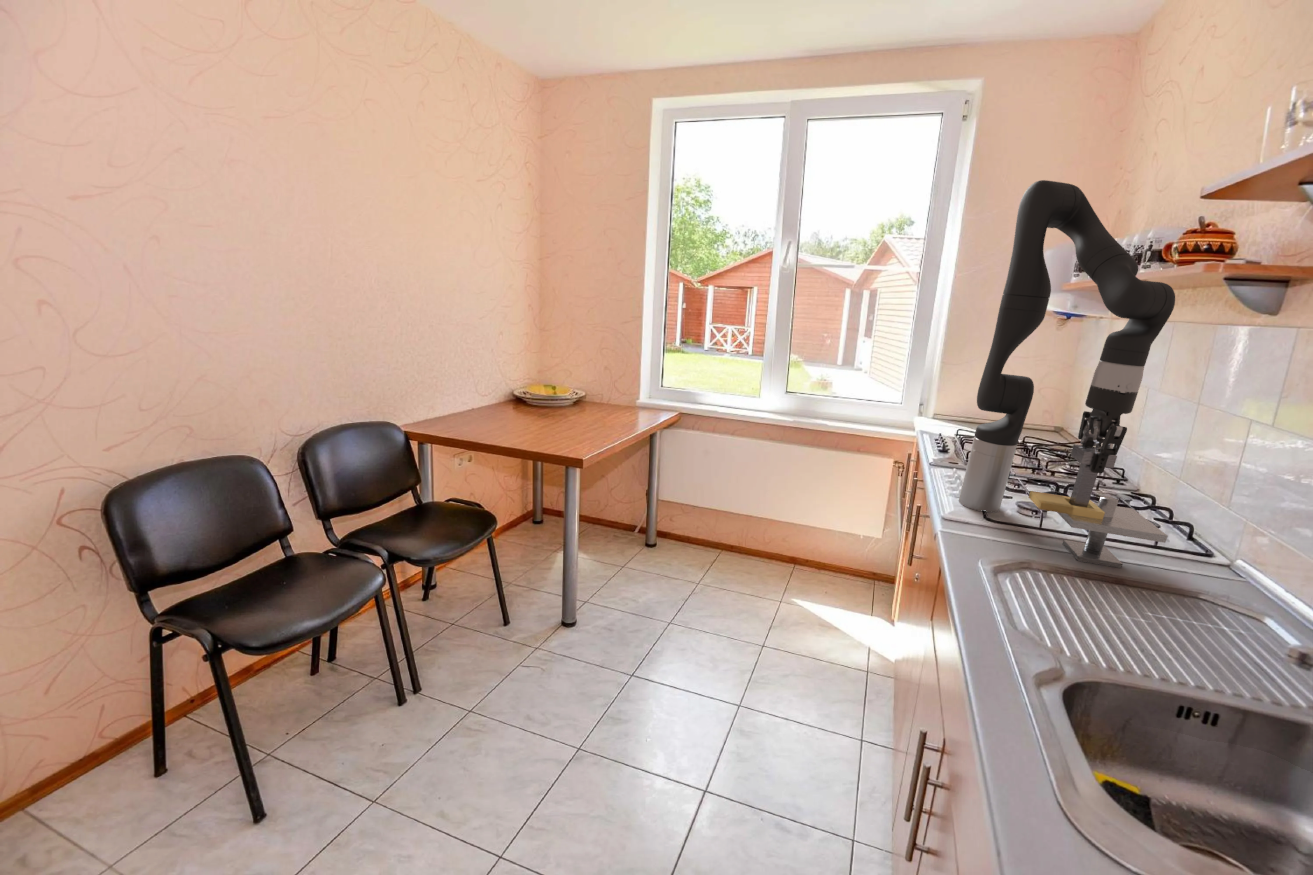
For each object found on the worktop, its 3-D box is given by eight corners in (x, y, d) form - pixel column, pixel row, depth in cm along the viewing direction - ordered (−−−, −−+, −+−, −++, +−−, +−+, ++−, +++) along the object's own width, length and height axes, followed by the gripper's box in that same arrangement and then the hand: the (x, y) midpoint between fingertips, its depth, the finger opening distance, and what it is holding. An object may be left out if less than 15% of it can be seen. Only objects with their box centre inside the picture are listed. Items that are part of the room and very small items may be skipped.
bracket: (1088, 506, 124) (1090, 500, 124) (1102, 519, 117) (1104, 512, 117) (1028, 497, 127) (1030, 490, 126) (1039, 509, 120) (1041, 502, 120)
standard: (1119, 548, 128) (1137, 493, 124) (1151, 579, 115) (1174, 519, 111) (1037, 534, 131) (1053, 480, 128) (1060, 563, 118) (1078, 504, 115)
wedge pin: (1057, 500, 125) (1073, 444, 121) (1087, 504, 123) (1104, 448, 120) (1067, 509, 119) (1084, 451, 116) (1098, 514, 118) (1117, 456, 115)
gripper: (1078, 378, 122) (1055, 454, 126) (1108, 390, 108) (1082, 475, 113) (1119, 382, 120) (1095, 460, 125) (1156, 395, 106) (1127, 482, 111)
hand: (1089, 467), depth 119 cm, fingers closed on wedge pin, 5 cm apart
